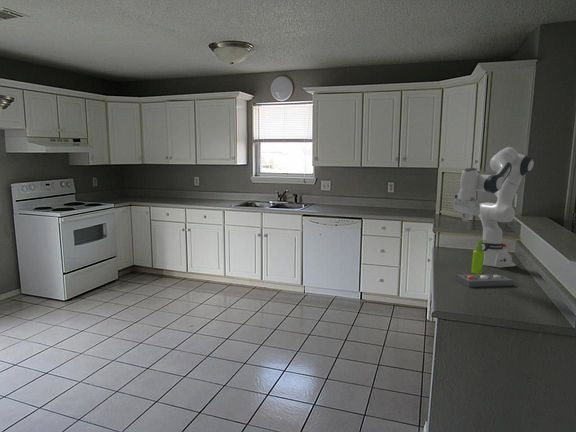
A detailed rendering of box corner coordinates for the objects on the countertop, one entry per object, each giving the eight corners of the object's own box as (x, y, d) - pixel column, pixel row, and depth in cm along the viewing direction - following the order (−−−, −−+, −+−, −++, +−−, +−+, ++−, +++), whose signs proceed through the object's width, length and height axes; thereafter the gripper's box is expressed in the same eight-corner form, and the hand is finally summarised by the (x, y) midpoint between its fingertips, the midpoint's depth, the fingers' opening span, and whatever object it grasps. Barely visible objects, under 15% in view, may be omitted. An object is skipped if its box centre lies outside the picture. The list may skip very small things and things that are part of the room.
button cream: (484, 280, 226) (485, 275, 225) (489, 282, 222) (490, 277, 221) (478, 280, 225) (478, 275, 224) (482, 282, 221) (483, 277, 220)
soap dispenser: (485, 274, 239) (488, 241, 236) (472, 273, 240) (475, 240, 237) (482, 272, 245) (485, 239, 242) (470, 271, 246) (473, 238, 243)
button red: (471, 280, 224) (472, 275, 224) (476, 283, 220) (476, 277, 220) (464, 281, 223) (465, 275, 223) (469, 283, 219) (469, 277, 219)
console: (497, 278, 232) (497, 273, 231) (512, 285, 220) (513, 280, 219) (455, 280, 227) (456, 274, 226) (468, 286, 215) (469, 281, 215)
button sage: (497, 280, 227) (498, 274, 227) (502, 282, 223) (503, 277, 223) (491, 280, 226) (491, 275, 226) (496, 282, 222) (496, 277, 222)
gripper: (484, 199, 223) (481, 224, 225) (461, 195, 243) (459, 218, 245) (473, 198, 222) (471, 224, 224) (452, 195, 242) (450, 218, 244)
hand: (465, 221), depth 235 cm, fingers closed
